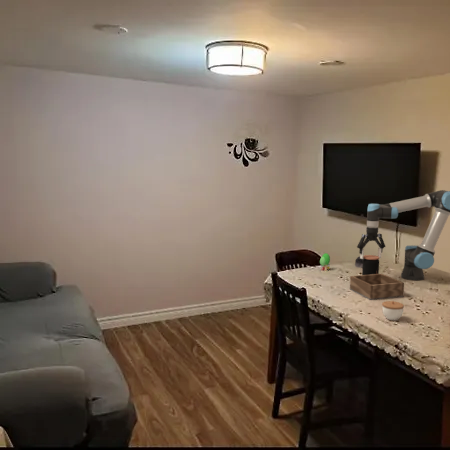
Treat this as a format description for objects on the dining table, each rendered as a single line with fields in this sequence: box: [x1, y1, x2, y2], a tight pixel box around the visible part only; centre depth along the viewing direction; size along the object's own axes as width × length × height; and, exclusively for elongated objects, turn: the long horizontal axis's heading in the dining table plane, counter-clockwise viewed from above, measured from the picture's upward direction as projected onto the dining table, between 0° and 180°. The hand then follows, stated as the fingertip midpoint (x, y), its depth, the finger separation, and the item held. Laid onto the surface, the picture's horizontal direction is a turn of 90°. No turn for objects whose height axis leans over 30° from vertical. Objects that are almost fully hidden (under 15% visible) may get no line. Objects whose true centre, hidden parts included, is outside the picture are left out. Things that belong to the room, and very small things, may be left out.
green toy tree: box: [319, 253, 331, 272], centre depth 344 cm, size 15×14×14 cm
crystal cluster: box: [354, 255, 364, 268], centre depth 356 cm, size 13×14×10 cm
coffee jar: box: [361, 254, 380, 275], centre depth 308 cm, size 11×11×18 cm
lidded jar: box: [381, 300, 405, 321], centre depth 241 cm, size 11×11×9 cm
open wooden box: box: [349, 273, 405, 301], centre depth 285 cm, size 23×23×9 cm
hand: (370, 258), depth 307 cm, fingers open, 13 cm apart
